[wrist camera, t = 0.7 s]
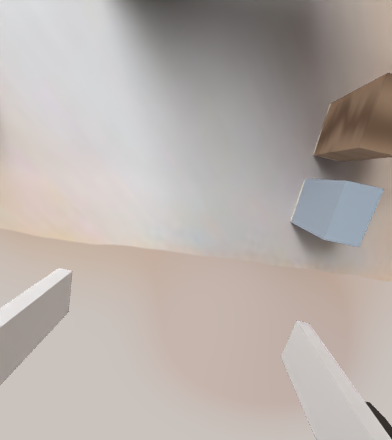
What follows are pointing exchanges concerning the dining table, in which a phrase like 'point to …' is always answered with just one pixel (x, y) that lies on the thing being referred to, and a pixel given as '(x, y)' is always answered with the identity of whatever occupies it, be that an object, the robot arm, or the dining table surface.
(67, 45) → the dining table surface
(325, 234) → the slate block
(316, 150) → the walnut block
